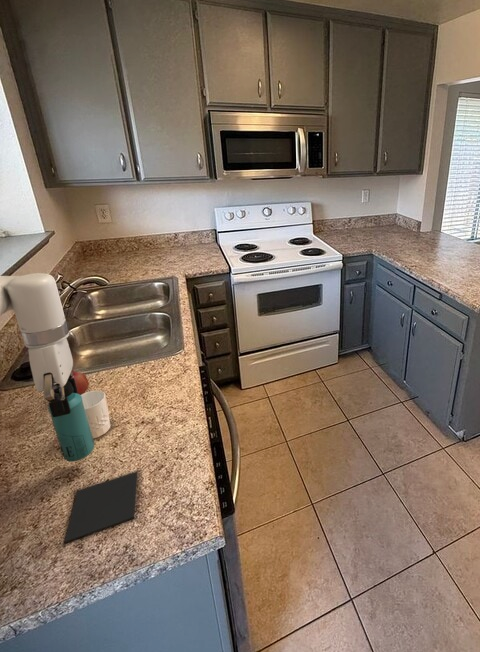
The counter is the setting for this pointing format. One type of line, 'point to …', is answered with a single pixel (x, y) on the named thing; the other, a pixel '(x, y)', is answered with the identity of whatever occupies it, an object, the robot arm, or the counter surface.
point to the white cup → (96, 412)
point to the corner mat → (102, 506)
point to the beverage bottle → (73, 428)
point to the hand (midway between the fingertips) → (65, 403)
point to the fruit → (80, 382)
